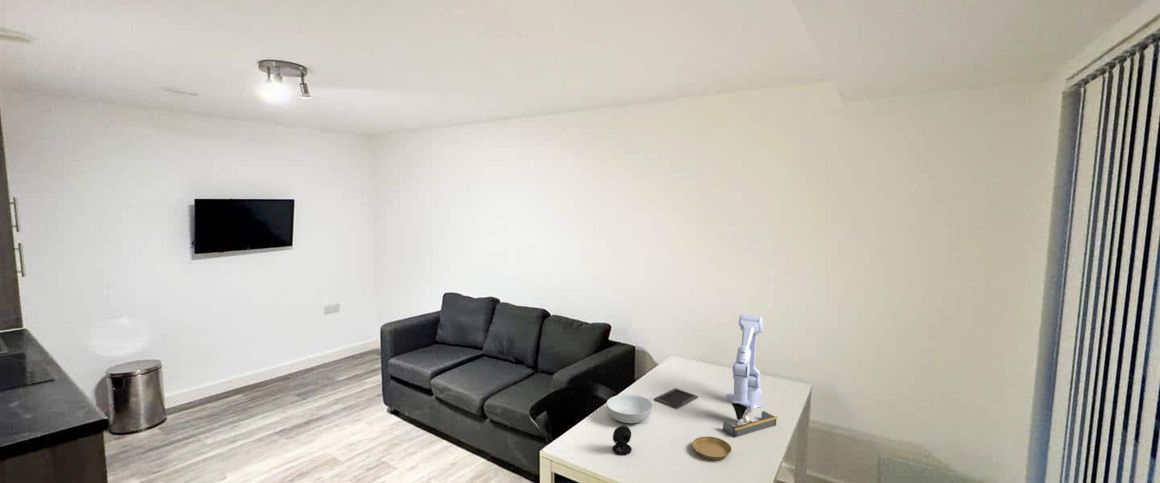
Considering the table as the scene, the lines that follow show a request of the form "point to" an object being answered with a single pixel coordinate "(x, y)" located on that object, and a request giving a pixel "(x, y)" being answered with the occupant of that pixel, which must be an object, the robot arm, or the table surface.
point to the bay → (751, 425)
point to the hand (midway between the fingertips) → (739, 419)
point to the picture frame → (675, 398)
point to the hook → (746, 417)
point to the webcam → (622, 440)
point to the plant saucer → (711, 447)
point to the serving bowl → (629, 408)
